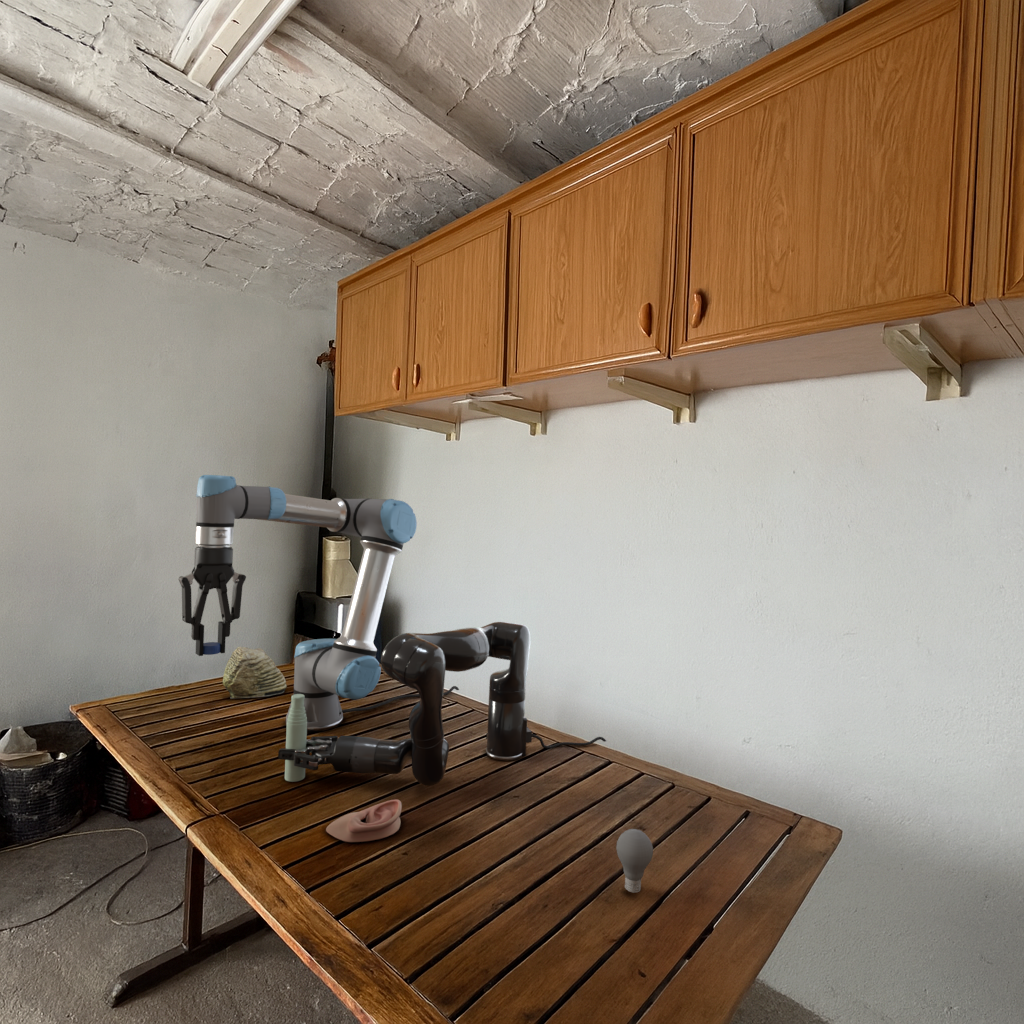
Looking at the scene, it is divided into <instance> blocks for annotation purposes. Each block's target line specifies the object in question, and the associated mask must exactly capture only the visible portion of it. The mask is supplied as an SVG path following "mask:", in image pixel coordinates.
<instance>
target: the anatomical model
mask: <svg viewBox="0 0 1024 1024" xmlns="http://www.w3.org/2000/svg"><path fill="white" fill-rule="evenodd" d="M402 808H403V804H402V802H401V800H399V799H391V800H387V801H383V802H380V803H377V804H374V805H372V806H370V807H367V808H365V809H362V810H360V811H353V812H350V813H347V814H344V815H342V816H340V817H338V818H337V819H335V820H333V821H332V822H330V823H329V825H327V826H326V828H325V832H326V833H327V834H329V835H330V836H332V837H333V838H335V839H338V840H340V841H342V842H345V843H360V842H361V843H363V842H371V841H375V840H381V839H384V838H387V837H389V836H392V835H394V834H395V833H397V832H398V831H399V829H400V827H401V824H402V823H401V817H400V816H401V813H402Z"/></svg>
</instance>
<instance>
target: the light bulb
mask: <svg viewBox="0 0 1024 1024" xmlns="http://www.w3.org/2000/svg"><path fill="white" fill-rule="evenodd" d="M615 849H616V854H617V857H618V859H619V861H620V863H621V865H622V867H623V873H624V874H623V875H624V876H625V878H624V888H625V890H627V891H628V892H630V893H634V894H635V893H639V892H640V891H641V889H642V887H641V886H642V879H643V877H644V875H645V871H646V868H647V867H648V866H649V864H650V863H651V861H652V859H653V855H654V847H653V843H652V841H651V838H649V836H648V835H647V834H646V833H645V832H643V831H642V830H641V829H636V828H629V829H627V830H625V831H623V832H622V833H621V834H620V835H619V837H618V839H617V841H616V847H615Z"/></svg>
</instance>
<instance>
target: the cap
mask: <svg viewBox="0 0 1024 1024" xmlns="http://www.w3.org/2000/svg"><path fill="white" fill-rule="evenodd" d="M220 649H221V646H220V643H218V641H209V642H204V645H203V656H205V655H207V656H210V655H211V656H212V655H218V654H221V653H220Z"/></svg>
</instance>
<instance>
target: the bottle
mask: <svg viewBox="0 0 1024 1024" xmlns="http://www.w3.org/2000/svg"><path fill="white" fill-rule="evenodd" d="M304 697H305V696H304V695H303V694H295V695H294V694H291V698H290V699H291V702H290V704H291V708H290V711H289V715H288V718H287V726H286V728H285V729H286V732H285V735H286V736H285V749H296V750H297V749H306V740H307V736H308V732H307V717H306V713H305V712H306V711H305V707H304ZM302 754H305V753H302ZM305 778H306V768H302V767H297V766H294V760H284V780H285V781H286V782H292V783H293V782H300V781H302V780H304V779H305Z"/></svg>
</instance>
